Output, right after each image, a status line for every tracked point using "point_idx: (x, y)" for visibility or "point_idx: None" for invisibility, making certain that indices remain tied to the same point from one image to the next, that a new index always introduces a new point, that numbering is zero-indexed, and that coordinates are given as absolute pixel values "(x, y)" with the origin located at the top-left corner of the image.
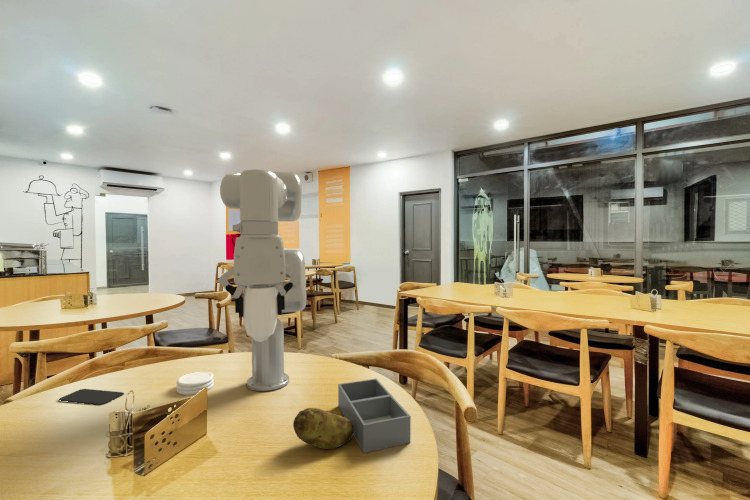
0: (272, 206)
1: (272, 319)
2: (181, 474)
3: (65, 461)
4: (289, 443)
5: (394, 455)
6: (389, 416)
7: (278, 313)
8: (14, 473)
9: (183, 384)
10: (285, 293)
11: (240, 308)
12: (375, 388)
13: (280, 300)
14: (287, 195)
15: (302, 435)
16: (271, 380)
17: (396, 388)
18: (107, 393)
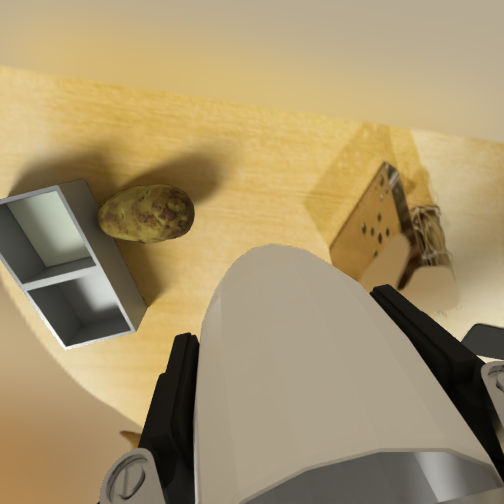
0: None
1: (218, 291)
2: (339, 158)
3: (482, 202)
4: (206, 214)
5: (30, 166)
6: (47, 264)
7: (192, 335)
8: None
9: None
10: (114, 478)
11: (409, 310)
12: (74, 334)
13: (164, 402)
14: None
15: (175, 187)
16: None
17: (53, 356)
18: (477, 349)
